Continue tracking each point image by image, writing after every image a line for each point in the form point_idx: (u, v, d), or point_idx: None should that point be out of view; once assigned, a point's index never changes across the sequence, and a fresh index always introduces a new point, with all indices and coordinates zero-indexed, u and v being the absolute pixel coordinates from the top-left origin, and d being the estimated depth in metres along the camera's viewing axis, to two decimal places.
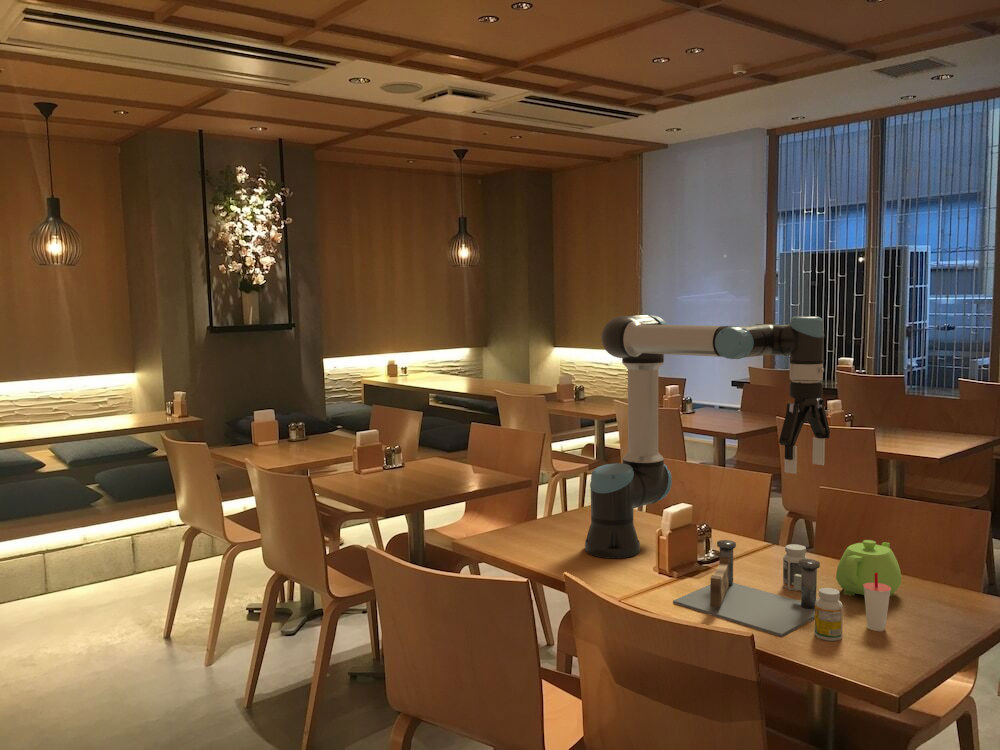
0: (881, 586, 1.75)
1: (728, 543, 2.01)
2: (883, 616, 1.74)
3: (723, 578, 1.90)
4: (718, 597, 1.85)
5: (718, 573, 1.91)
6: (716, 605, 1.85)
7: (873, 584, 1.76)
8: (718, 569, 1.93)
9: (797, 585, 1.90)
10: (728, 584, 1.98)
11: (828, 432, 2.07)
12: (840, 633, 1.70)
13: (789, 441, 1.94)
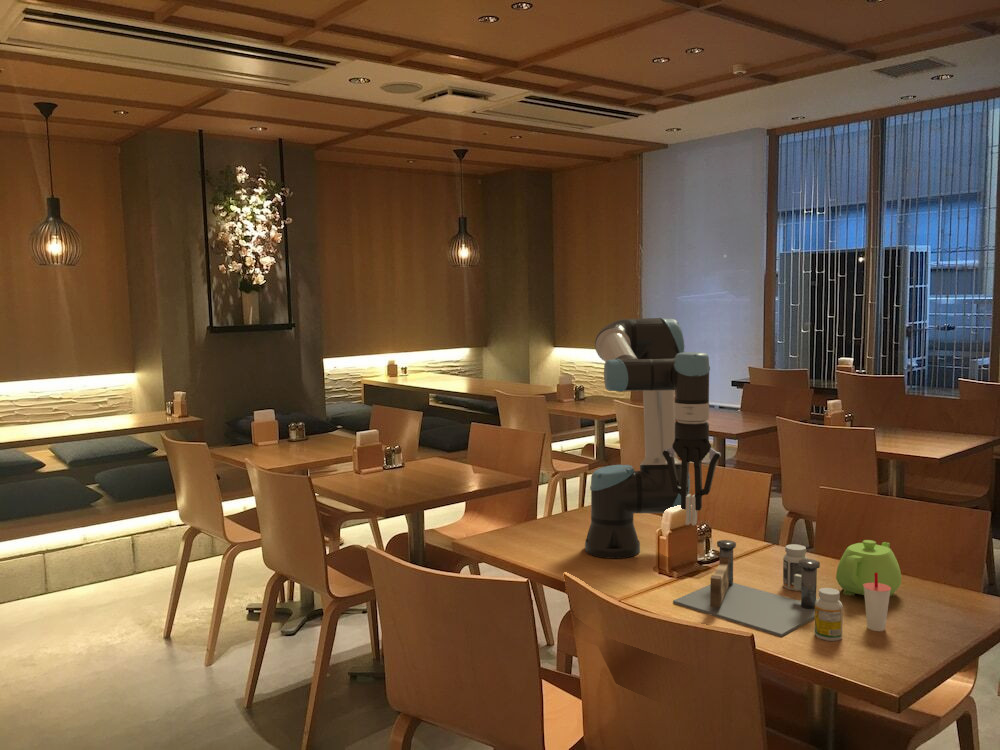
0: (881, 586, 1.75)
1: (728, 543, 2.01)
2: (883, 616, 1.74)
3: (723, 578, 1.90)
4: (718, 597, 1.85)
5: (718, 573, 1.91)
6: (716, 605, 1.85)
7: (873, 584, 1.76)
8: (718, 569, 1.93)
9: (797, 585, 1.90)
10: (728, 584, 1.98)
11: (704, 491, 1.88)
12: (840, 633, 1.70)
13: (674, 489, 1.90)
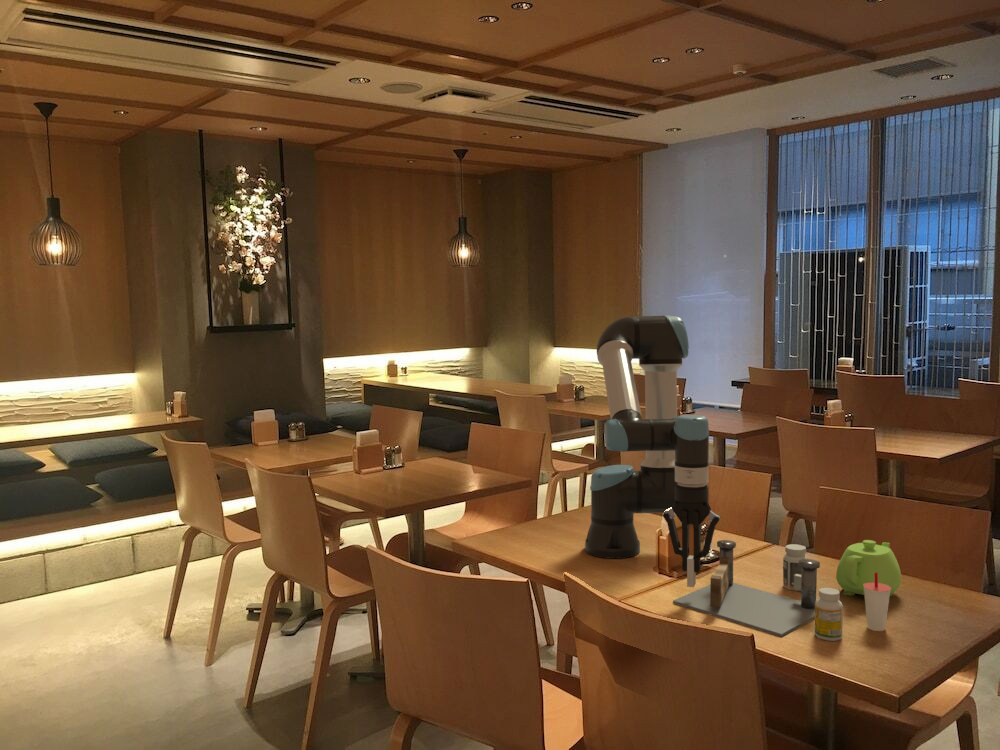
0: (881, 586, 1.75)
1: (728, 543, 2.01)
2: (883, 616, 1.74)
3: (723, 578, 1.90)
4: (718, 597, 1.85)
5: (718, 573, 1.91)
6: (716, 605, 1.85)
7: (873, 584, 1.76)
8: (718, 569, 1.93)
9: (797, 585, 1.90)
10: (728, 584, 1.98)
11: (703, 553, 1.89)
12: (840, 633, 1.70)
13: (675, 551, 1.91)
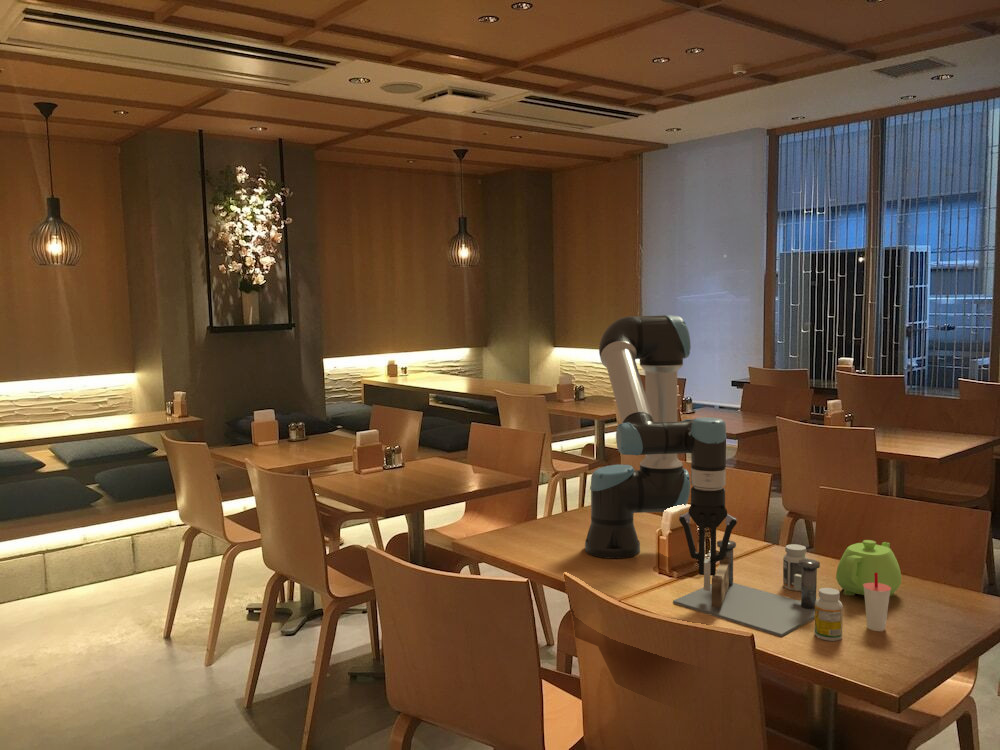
0: (881, 586, 1.75)
1: (728, 543, 2.01)
2: (883, 616, 1.74)
3: (724, 578, 1.90)
4: (719, 597, 1.84)
5: (719, 573, 1.91)
6: (717, 605, 1.85)
7: (873, 584, 1.76)
8: (719, 569, 1.93)
9: (797, 585, 1.90)
10: (728, 584, 1.98)
11: (720, 557, 1.88)
12: (840, 633, 1.70)
13: (692, 555, 1.90)
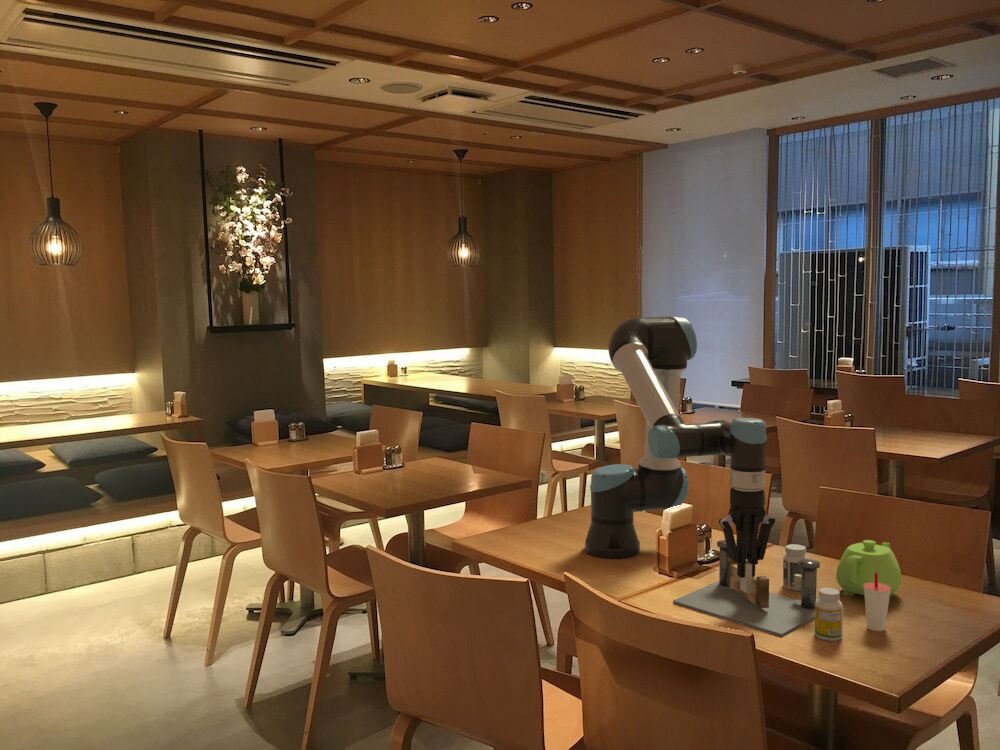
0: (881, 586, 1.75)
1: None
2: (883, 616, 1.74)
3: None
4: (767, 597, 1.84)
5: None
6: (766, 606, 1.84)
7: (873, 584, 1.76)
8: None
9: (797, 585, 1.90)
10: None
11: (760, 557, 1.87)
12: (840, 633, 1.70)
13: (735, 559, 1.86)
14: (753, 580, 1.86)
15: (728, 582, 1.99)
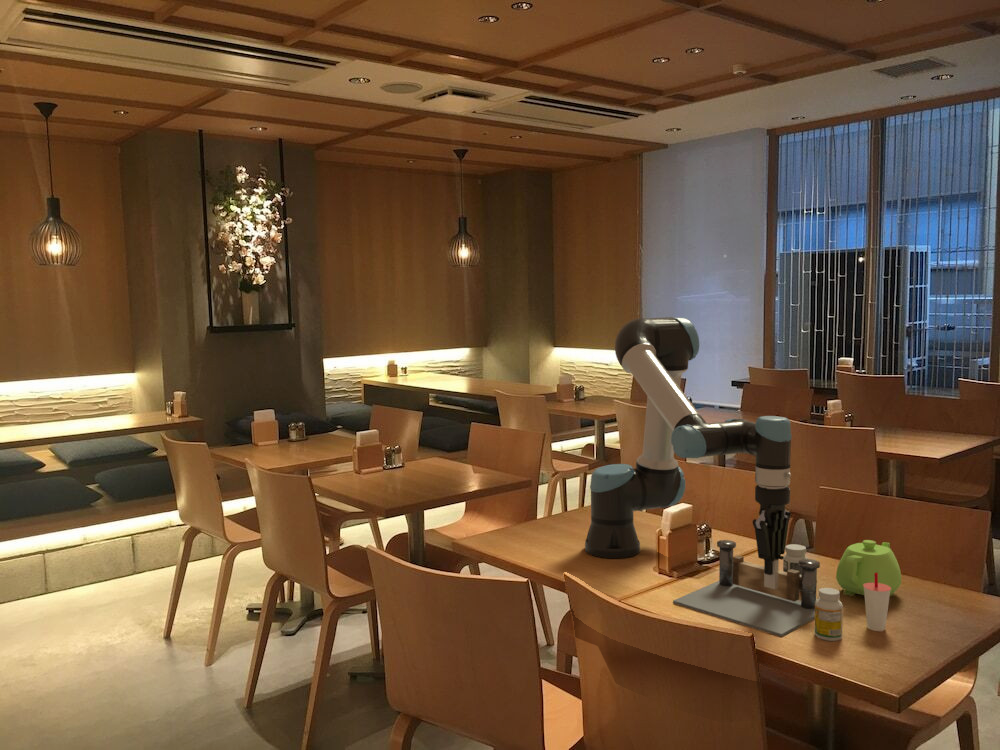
0: (881, 586, 1.75)
1: (728, 543, 2.01)
2: (883, 616, 1.74)
3: None
4: (798, 589, 1.88)
5: None
6: (797, 598, 1.88)
7: (873, 584, 1.76)
8: (758, 567, 1.94)
9: None
10: None
11: (782, 551, 1.91)
12: (840, 633, 1.70)
13: (768, 557, 1.87)
14: (781, 575, 1.89)
15: (735, 581, 1.99)
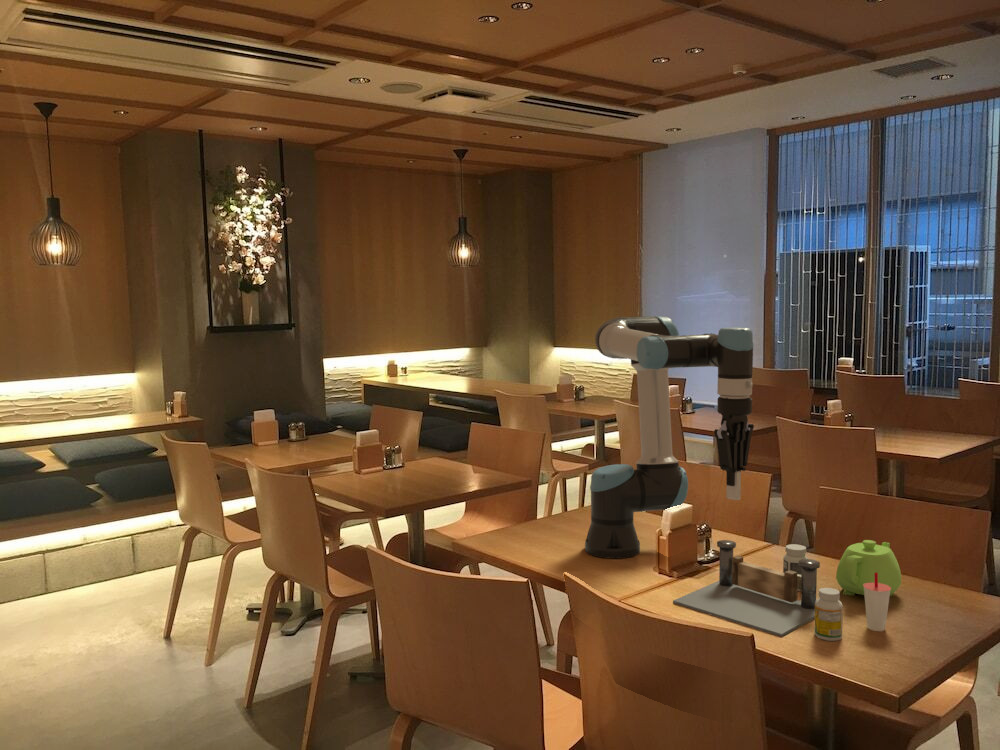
0: (881, 586, 1.75)
1: (728, 543, 2.01)
2: (883, 616, 1.74)
3: None
4: (796, 590, 1.88)
5: (768, 570, 1.92)
6: (795, 599, 1.88)
7: (873, 584, 1.76)
8: (757, 567, 1.94)
9: (797, 585, 1.90)
10: None
11: (745, 463, 1.91)
12: (840, 633, 1.70)
13: (730, 468, 1.87)
14: (779, 576, 1.89)
15: (734, 581, 1.99)
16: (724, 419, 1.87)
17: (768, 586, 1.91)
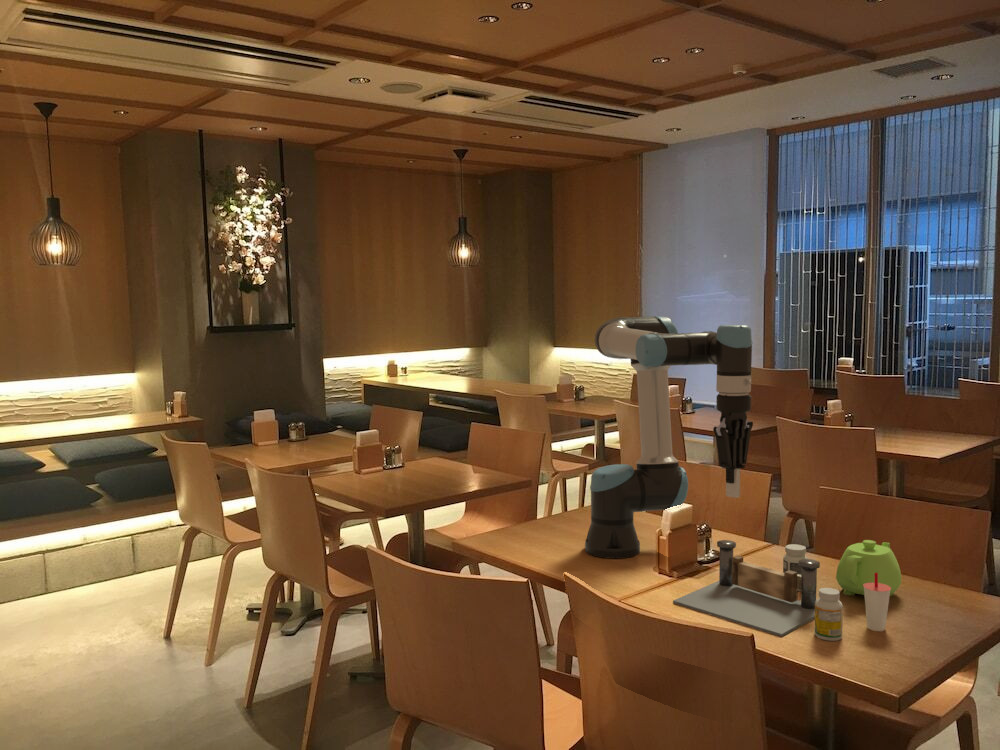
0: (881, 586, 1.75)
1: (728, 543, 2.01)
2: (883, 616, 1.74)
3: None
4: (796, 590, 1.88)
5: (768, 570, 1.92)
6: (795, 599, 1.88)
7: (873, 584, 1.76)
8: (757, 567, 1.94)
9: (797, 585, 1.90)
10: None
11: (744, 460, 1.91)
12: (840, 633, 1.70)
13: (729, 465, 1.87)
14: (779, 576, 1.89)
15: (734, 581, 1.99)
16: (723, 416, 1.87)
17: (768, 586, 1.91)
